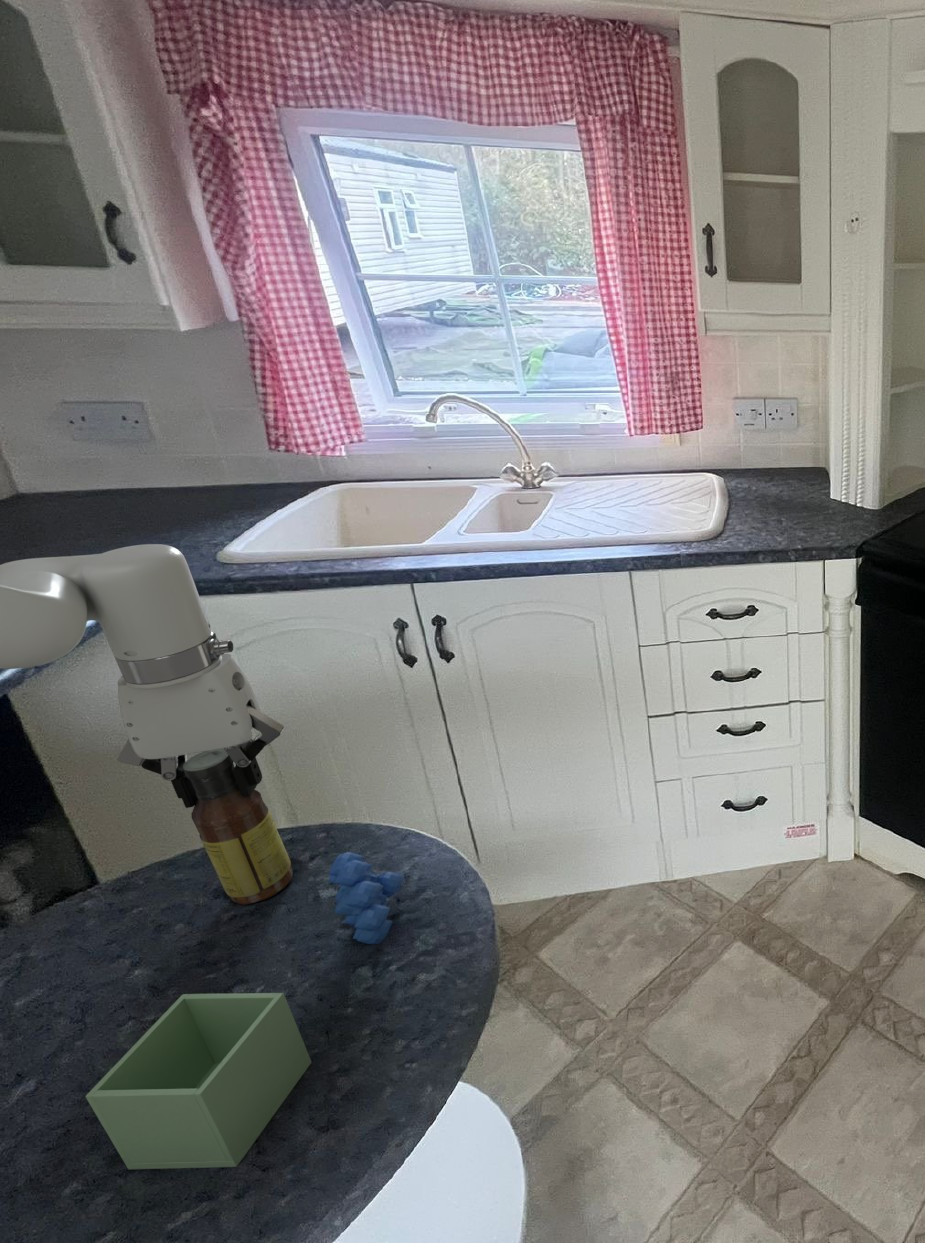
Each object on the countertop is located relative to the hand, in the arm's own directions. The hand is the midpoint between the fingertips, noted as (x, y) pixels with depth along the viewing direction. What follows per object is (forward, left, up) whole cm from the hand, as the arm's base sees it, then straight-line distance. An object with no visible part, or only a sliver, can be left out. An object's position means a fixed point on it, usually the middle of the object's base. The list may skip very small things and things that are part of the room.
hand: (223, 792), depth 87 cm
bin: (+6, -30, -15) cm, 34 cm away
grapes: (+15, -13, -15) cm, 25 cm away
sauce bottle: (0, 0, -15) cm, 15 cm away
